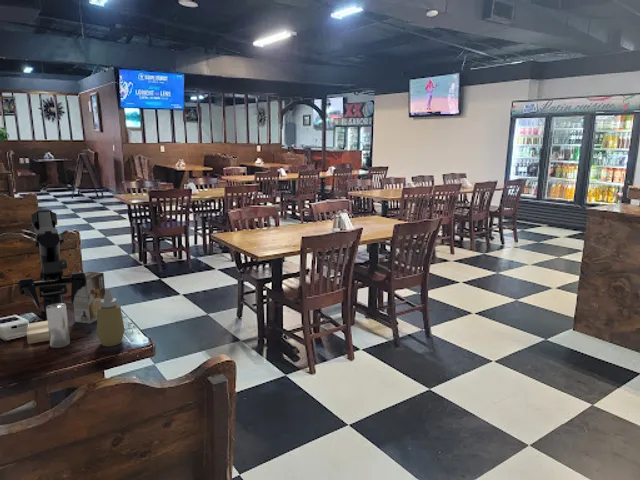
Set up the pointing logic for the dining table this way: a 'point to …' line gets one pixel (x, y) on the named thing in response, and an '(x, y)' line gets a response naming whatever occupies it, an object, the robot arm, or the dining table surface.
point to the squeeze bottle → (109, 321)
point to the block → (37, 332)
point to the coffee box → (89, 298)
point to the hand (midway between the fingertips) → (55, 306)
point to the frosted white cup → (58, 325)
